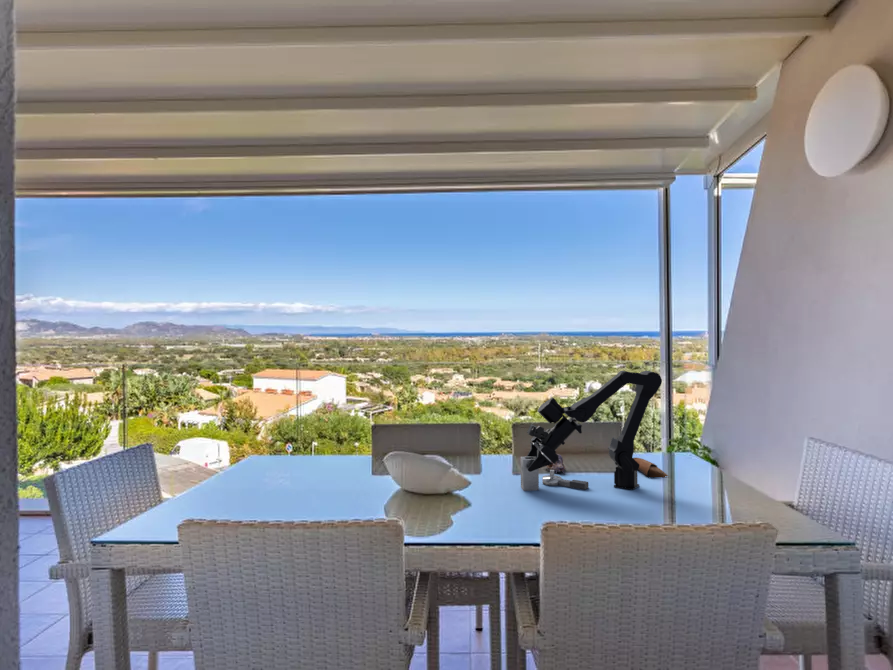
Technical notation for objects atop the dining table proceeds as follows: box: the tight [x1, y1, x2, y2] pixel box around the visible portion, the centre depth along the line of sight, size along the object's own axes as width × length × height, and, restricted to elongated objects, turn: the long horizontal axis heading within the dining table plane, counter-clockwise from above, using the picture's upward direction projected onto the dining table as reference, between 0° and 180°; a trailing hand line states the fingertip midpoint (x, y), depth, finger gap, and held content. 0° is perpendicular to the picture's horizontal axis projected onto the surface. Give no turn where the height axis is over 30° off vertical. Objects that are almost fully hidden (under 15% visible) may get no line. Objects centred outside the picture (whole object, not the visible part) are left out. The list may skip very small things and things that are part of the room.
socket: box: [520, 455, 540, 492], centre depth 196 cm, size 5×5×10 cm
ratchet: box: [541, 469, 589, 491], centre depth 199 cm, size 16×6×4 cm, turn 53°
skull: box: [545, 453, 566, 474], centre depth 220 cm, size 12×8×6 cm, turn 0°
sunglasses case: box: [632, 457, 669, 478], centre depth 217 cm, size 18×7×7 cm
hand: (526, 467), depth 196 cm, fingers open, 9 cm apart
